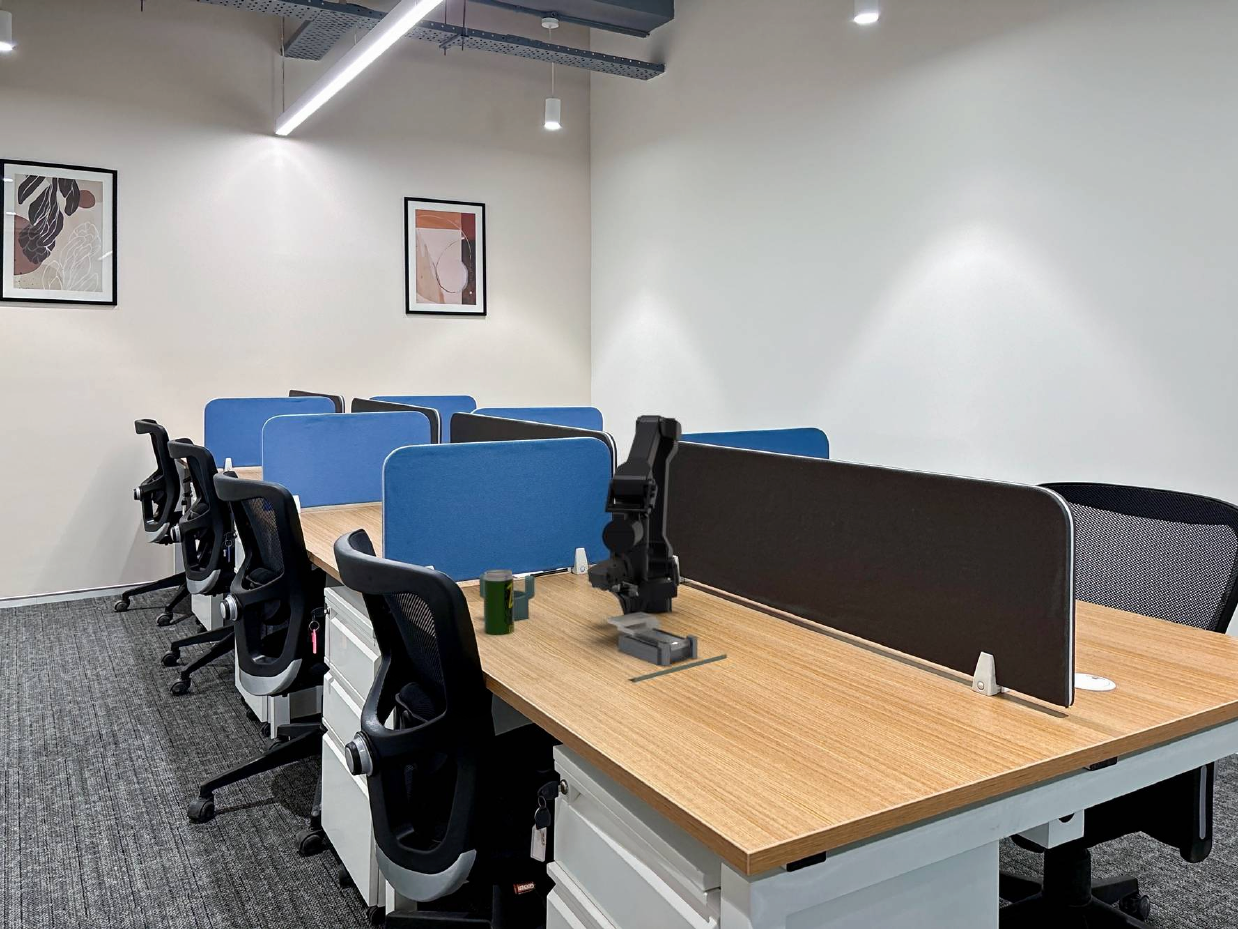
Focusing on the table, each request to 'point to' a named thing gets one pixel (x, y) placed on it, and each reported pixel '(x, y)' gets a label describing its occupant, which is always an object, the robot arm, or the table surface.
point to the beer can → (498, 602)
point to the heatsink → (657, 649)
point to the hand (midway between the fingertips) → (631, 628)
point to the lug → (635, 620)
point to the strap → (655, 636)
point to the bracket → (518, 597)
